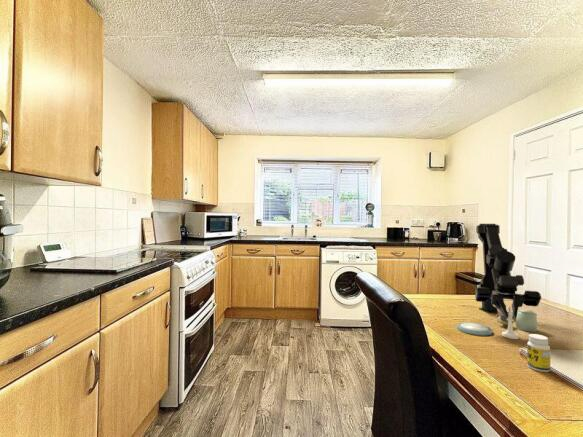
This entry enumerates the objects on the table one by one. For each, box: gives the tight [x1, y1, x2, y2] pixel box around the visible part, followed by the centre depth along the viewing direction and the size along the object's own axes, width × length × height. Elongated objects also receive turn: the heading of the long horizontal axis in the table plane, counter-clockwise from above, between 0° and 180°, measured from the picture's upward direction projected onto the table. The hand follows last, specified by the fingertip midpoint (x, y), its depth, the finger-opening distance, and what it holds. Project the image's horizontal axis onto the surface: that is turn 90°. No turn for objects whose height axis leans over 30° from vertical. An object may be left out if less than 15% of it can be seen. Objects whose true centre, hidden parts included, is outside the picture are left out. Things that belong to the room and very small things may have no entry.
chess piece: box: [501, 306, 520, 340], centre depth 104 cm, size 5×5×10 cm
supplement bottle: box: [526, 333, 551, 373], centre depth 81 cm, size 5×5×8 cm
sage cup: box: [515, 308, 538, 333], centre depth 112 cm, size 6×6×7 cm
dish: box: [456, 322, 493, 337], centre depth 110 cm, size 11×11×1 cm
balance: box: [493, 304, 509, 325], centre depth 120 cm, size 17×5×6 cm, turn 152°
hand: (511, 318), depth 103 cm, fingers closed on chess piece
